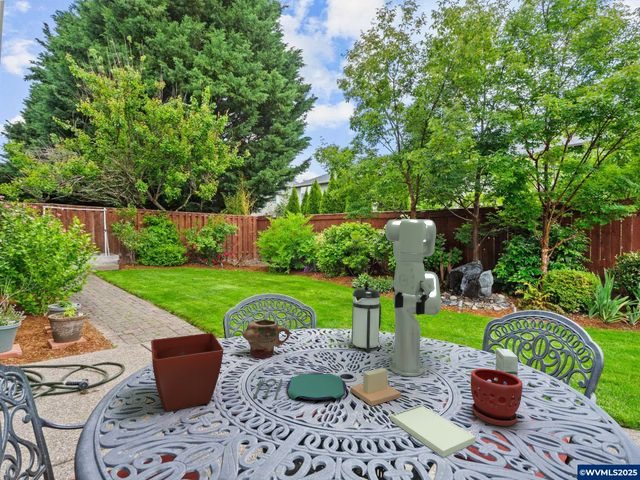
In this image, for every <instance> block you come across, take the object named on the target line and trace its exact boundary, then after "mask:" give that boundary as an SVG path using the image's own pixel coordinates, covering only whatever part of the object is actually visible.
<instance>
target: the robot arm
mask: <svg viewBox="0 0 640 480" xmlns="http://www.w3.org/2000/svg"><path fill="white" fill-rule="evenodd" d="M385 237H386V240H387V241H389V242H393V244H392V245H393V246H392V249H393V250H392V251H393V257H394V261H395V263H396V265H395V270H394V276H393V277H394V278H393V280H391V281H390V284H391V285H390V286H391V287H392V288H391V290H392V291H393V298H392V299H393V307H394V351H393V352H391V353H390V354H389V355H388V358H389V359H390V360H392V362H391V363H390V364H389V370H390V371H392V372H393V373H395V374H397V375H400V376H405V377H418V376H421V375H423V374H424V370H425V369H424V367H423V366H422V365H420V362H421V361H420V360H421V357H420V355H421V324H420V321H419V320H418V319H417V317H416V316H420V315H421V316H422V315H426V316H435V315H438V314H439V313H441V312H440V311H441V309H442V298H441V288H440V281H439V277H438V275H437V274H436V272H434V271H427V270H425V265H424V263H423V262H424V257H425V258H426V257H431V256H433V254H434V252H435V246H436V245H435V244H436V238H437V227H436V223H435V221H433V220H431V219H425V218H424V219H418V218H417V219H413V218H406V219H403V218H402V219H389V220H388V221H387V222H386V226H385ZM415 315H416V316H415Z"/></svg>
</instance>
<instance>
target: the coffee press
mask: <svg viewBox="0 0 640 480" xmlns="http://www.w3.org/2000/svg"><path fill="white" fill-rule="evenodd" d="M363 285H364V287H358V288H355V289H354V291H353V292H352V294H351V295H352V308H351V309H352V311H351V318H352V319H351V341H350V343H349V345H348V347H349V348H350V349H352V348H354V347H357V348H362V349H365V351H366V354H367V353H368V354H370V353H371V349H373V348H376V347H378V349H381V348H382V345H381V343H380V328H381V326H382V325H381V324H382V323H381V321H382V306H381V302H380V299H381V294H380V291H379V290H377V289H375V288H371V287H369V286H370V284H369V283H368V282H365V283H364V284H363ZM378 345H380V346H378Z"/></svg>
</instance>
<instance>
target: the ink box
mask: <svg viewBox="0 0 640 480" xmlns="http://www.w3.org/2000/svg"><path fill="white" fill-rule="evenodd" d="M518 361H519V358H518V356H517V355H516V354H515V353H514V352H513V351H512V350H511V349H508V348H499V347H498V348H497V347H496V348H495V370H498V371H502V372H505V373H508V374H511V375H513V376H515V377H517V378H518V379H519V375H518V374H519V373H518V370H519V369H518V368H519V367H518V366H519V363H518ZM494 380H495V381H498V379H497V378H494ZM504 384H505V385H507V383H506V382H504Z"/></svg>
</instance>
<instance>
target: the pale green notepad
mask: <svg viewBox="0 0 640 480" xmlns="http://www.w3.org/2000/svg"><path fill="white" fill-rule="evenodd" d="M389 417H390V419H389V420H390V421H391V422H392V423H394V424H395V425H397V426H398V427H400V428H401V429H402V430H404V431H405V432H406V433H408V434H409V435H411V436H412V437H414V438H415V439H416V440H418V441H419V442H421V444H423V445H425V446H427V447H428V448H430V449H431V450H432V451H434V452H435V453H436V454H438V455H440V457H442V458H445V457H447V456H450V455H451V454H454V453H455V452H456V453H457V452H458V451H461V450H462V449H465V448H467V447H469V446H471V445H473V444H475V443H476V440H477V439H476V438H477V437H476V436H475V435H473V434H472V433H470V432H469V431H467V430H466V429H464V428H462V427H461V426H459V425H456V424H455V423H453V422H452V421H450V420H448V419H446V418H445V417H443V416H442V415H439V414H437V413H436V412H434V411H433V410H431V409H428V408H427V406H426V407H425V406H424V405H422V404H419V405H416V406H413V407H411V408H410V407H409V408H407V409H403V410H401V411H398V412H395V413H392V414H390V416H389Z"/></svg>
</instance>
